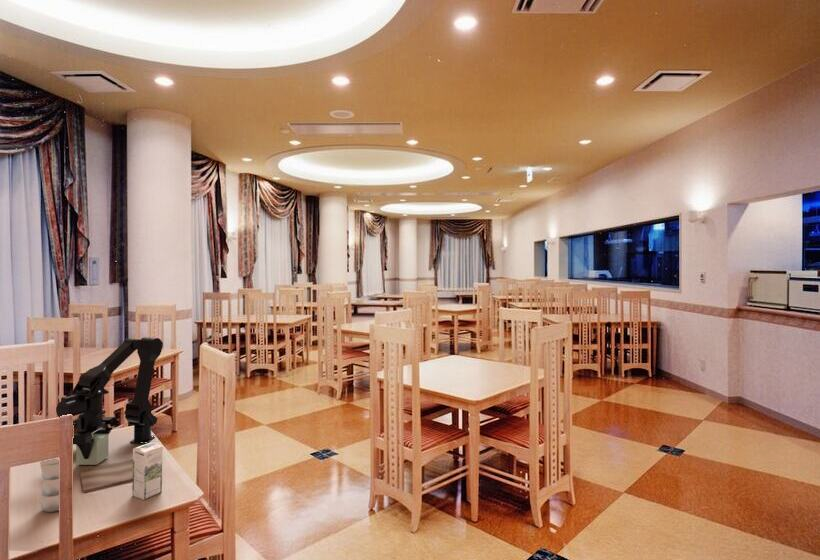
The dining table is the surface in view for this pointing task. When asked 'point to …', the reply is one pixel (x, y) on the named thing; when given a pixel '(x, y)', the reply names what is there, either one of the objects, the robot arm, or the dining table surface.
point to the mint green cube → (94, 451)
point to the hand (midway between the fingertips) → (92, 454)
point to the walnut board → (107, 475)
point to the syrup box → (147, 470)
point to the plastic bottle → (50, 485)
